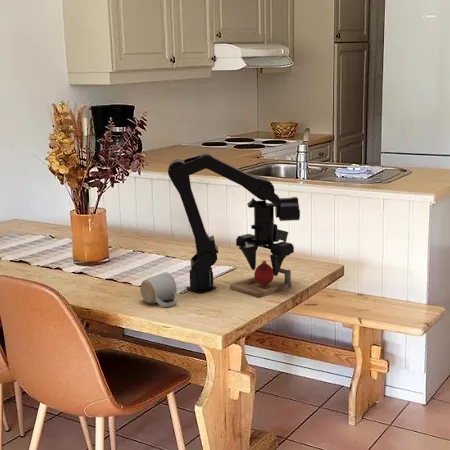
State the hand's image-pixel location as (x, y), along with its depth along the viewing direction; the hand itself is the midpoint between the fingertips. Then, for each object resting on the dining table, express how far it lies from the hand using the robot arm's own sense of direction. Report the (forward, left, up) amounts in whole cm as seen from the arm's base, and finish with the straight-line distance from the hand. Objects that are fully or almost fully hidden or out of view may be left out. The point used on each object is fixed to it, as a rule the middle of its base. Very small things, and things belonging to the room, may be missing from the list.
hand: (264, 272), depth 210 cm
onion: (0, 0, -4) cm, 5 cm away
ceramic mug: (-30, +12, -5) cm, 32 cm away
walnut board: (-2, 0, -4) cm, 5 cm away
